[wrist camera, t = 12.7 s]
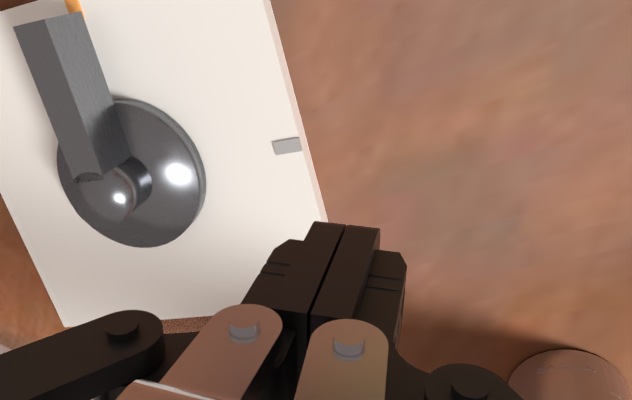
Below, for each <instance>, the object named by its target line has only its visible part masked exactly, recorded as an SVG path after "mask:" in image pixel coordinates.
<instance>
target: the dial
mask: <svg viewBox="0 0 632 400" xmlns="http://www.w3.org/2000/svg"><path fill="white" fill-rule="evenodd" d="M13 29H14V32H15V34H16V37H17V39H18V42H19V44H20V47H21V49H22V52H23V54H24V57H25V59H26V62H27V64H28V67H29V69H30V72H31V74H32V77H33V79H34V82H35V84H36V87H37V89H38V92H39V94H40V97H41V100H42V102H43V105H44V107H45V110H46V112H47V115H48V117H49V120H50V122H51V125H52V127H53V130H54V132H55V135H56V137H57V140H58V148H57V170H58V175H59V179H60V182H61V185H62V188H63V190H64V192H65V194H66V196H67V198H68V200H69V202H70V203H71V205H72V206H73V208H74V209H75V211H76V212H77V214H78V215H79V216H80V217H81V218H82V219H83V220H84V221H85V222H86V223H88V224H89V225H90V226H91V227H92V228H93V229H95V230H96V231H97V232H99V233H100V234H102V235H104V236H105V237H107V238H109V239H111V240H113V241H115V242H118V243H121V244H123V245H127V246H132V247H139V248H151V247H158V246H161V245H165V244H167V243H169V242H171V241H173V240H175V239H176V238H178V237H179V236H181V235H182V234H183V233H184V232H185V231H186V230H187V228H188V227H189V226H190V225H191V224H192V223H193V222H194V221H195V219H196V218H197V217H198V215H199V213H200V211H201V209H202V207H203V204H204V201H205V196H206V174H205V169H204V165H203V162H202V159H201V156H200V154H199V152H198V150H197V148H196V146H195V144H194V142H193V141H192V139H191V138H190V136H189V135H188V134H187V133H186V131H185V130H184V129H183V128H182V127H181V126H180V125H179V124H178V123H177V122H176V121H175V120H174V119H173V118H171V117H170V116H169V115H167V114H166V113H164V112H163V111H161V110H160V109H158V108H156V107H154V106H152V105H149V104H147V103H144V102H141V101H137V100H132V99H112V97H111V94H110V91H109V88H108V86H107V83H106V80H105V77H104V74H103V71H102V68H101V66H100V63H99V60H98V57H97V54H96V51H95V49H94V46H93V43H92V40H91V37H90V34H89V32H88V29H87V26H86V23H85V20H84V17H83V15H82V12H81V11H79V12H75V13H70V14H65V15H61V16H56V17H51V18H47V19H42V20H38V21H34V22H30V23H26V24H22V25H18V26H14V27H13Z"/></svg>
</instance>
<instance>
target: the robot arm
mask: <svg viewBox="0 0 632 400" xmlns="http://www.w3.org/2000/svg"><path fill="white" fill-rule="evenodd" d="M379 247H380V229H379V228H371V227H363V226H354V225H347V226H346V225H345V224H337V223H328V222H320V221H314V222H313V224H312V226H311V228H310V230H309V231H308V233H307V235H306V237H305V239H304V241H303V240H295V239H288V240H287V241H285V242H284V243H282V244H281V245H279V246H278V247H276V248H274V250H273V251H272V253H271V255H270V256H269V258H268V259H267V261H266V264H264V266H263V268H262V269H261V271H260V274H258V276H257V277H256V279H255V281H254V282H253V284H252V286H251V287H250V289H249V290H248V292H247V294H246V295H245V297H244V299H243V300H242V302H241V303H240V304H239V305H234V306H230V307H227V308H225V309H222V310H221V311H219V312H217V313H216V314H215V315H213V316H212V317H211V318H210V320H209V321H208V322H207V323H206V325H205V326H204V327H203V328H202V330H201V331H199V332H189V333H173V334H164V333H163V325H162V322H161V320H160V319H159V318H158V317H157V316H156V315H154V314H152V313H150V312H147V311H142V310H124V311H118V312H114V313H111V314H108V315H105V316H103V317H100V318H97V319H95V320H92V321H89V322H87V323H84V324H81V325H78V326H76V327H73V328H70V329H68V330H65V331H62V332H60V333H57V334H54V335H52V336H49V337H46V338H44V339H41V340H38V341H36V342H33V343H30V344H27V345H25V346H22V347H19V348H17V349H14V350H11V351H9V352H7V353H3V354H1V355H0V400H91V399H93V398H94V400H632V399H631V396H630V393H629V391H628V388H627V385H626V382H625V380H624V378H623V377H622V375H621V374H620V372H619V371H618V370H617V369H616V368H615V367H614V366H612V365H611V364H610V363H609V362H607V361H605V360H604V359H602V358H600V357H598V356H595V355H593V354H590V353H587V352H582V351H577V350H553V351H547V352H543V353H540V354H537V355H535V356H533V357H531V358H529V359H527V360H525V361H524V362H523V363H522V364H520V365H519V366H518V367H517V368H516V369H515V371H514V372H513V373H512V375H511V377H510V379H509V381H508V384H507V383H506V382H505V381H503V380H502V379H501V378H500V377H499V376H497V375H496V374H494V373H492V372H490V371H488V370H486V369H484V368H481V367H478V366H474V365H469V364H449V365H445V366H442V367H440V368H437V369H436V370H434V371H433V372H432V373H431V374H428V373H426V372H423V371H421V370H419V369H417V368H415V367H413V366H412V365H410V364H409V363H407V362H406V361H405V360H404V359H403V358H402V357H401V356H400V355H399V354H398V352H397V348H398V342H399V336H400V331H401V325H402V316H403V305H404V294H405V282H406V271H407V265H406V263H405V261H404V260H403V258H402V256H401V254H400V253H398V252H390V251H382V250H379Z"/></svg>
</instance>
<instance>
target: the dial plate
mask: <svg viewBox="0 0 632 400" xmlns="http://www.w3.org/2000/svg"><path fill="white" fill-rule="evenodd" d="M79 11H81V12H82V15H83V17H84V20H85V23H86V26H87V29H88V32H89V34H90V37H91V40H92V43H93V46H94V49H95V51H96V54H97V57H98V60H99V63H100V66H101V68H102V71H103V74H104V77H105V80H106V83H107V86H108V88H109V91H110V94H111V97H112V99H132V100H137V101H141V102H144V103H147V104H149V105H152V106H154V107H156V108H158V109H160V110H161V111H163V112H164V113H166V114H167V115H169V116H170V117H171V118H173V119H174V120H175V121H176V122H177V123H178V124H179V125H180V126H181V127H182V128H183V129H184V130H185V131H186V133H187V134H188V135H189V136H190V138H191V139H192V141H193V142H194V144H195V146H196V148H197V150H198V152H199V154H200V156H201V159H202V162H203V165H204V169H205V174H206V196H205V201H204V204H203V207H202V209H201V211H200V213H199V215H198V217H197V218H196V219H195V221H194V222H193V223H192V224H191V225H190V226H189V227H188V228H187V230H186V231H185V232H184V233H183V234H182V235H181V236H179V237H178V238H176V239H175V240H173V241H171V242H169V243H167V244H165V245H161V246H158V247H151V248H139V247H132V246H127V245H123V244H121V243H118V242H115V241H113V240H111V239H109V238H107V237H105V236H104V235H102V234H100V233H99V232H97V231H96V230H95V229H93V228H92V227H91V226H90V225H89V224H88V223H86V222H85V221H84V220H83V219H82V218H81V217H80V216H79V215H78V214H77V212H76V211H75V209H74V208H73V206H72V205H71V203H70V202H69V200H68V198H67V196H66V194H65V192H64V190H63V188H62V185H61V182H60V179H59V175H58V170H57V148H58V140H57V137H56V135H55V132H54V130H53V127H52V125H51V122H50V120H49V117H48V115H47V112H46V110H45V107H44V105H43V102H42V100H41V97H40V94H39V92H38V89H37V87H36V84H35V82H34V79H33V77H32V74H31V72H30V69H29V67H28V64H27V62H26V59H25V57H24V54H23V52H22V49H21V47H20V44H19V42H18V39H17V37H16V34H15V32H14V29H13V27H14V26H18V25H22V24H26V23H30V22H34V21H38V20H42V19H47V18H51V17H56V16H61V15H65V14H70V13H75V12H79ZM0 193H1V195H2V197H3V200H4V202H5V204H6V206H7V208H8V210H9V212H10V214H11V216H12V218H13V221H14V223H15V225H16V227H17V229H18V231H19V233H20V235H21V237H22V239H23V241H24V244H25V246H26V248H27V250H28V252H29V254H30V256H31V258H32V260H33V262H34V265H35V267H36V269H37V271H38V273H39V275H40V277H41V279H42V281H43V283H44V286H45V288H46V290H47V292H48V294H49V296H50V298H51V300H52V302H53V304H54V306H55V309H56V311H57V313H58V315H59V317H60V319H61V321H62V323H63V325H64V327H73V326H78V325H81V324H84V323H87V322H89V321H92V320H95V319H97V318H100V317H103V316H105V315H108V314H111V313H114V312H118V311H124V310H142V311H147V312H150V313H152V314H154V315H156V316H157V317H158V318H159V319H160V320H164V319H177V318H189V317H202V316H213V315H215V314H216V313H217V312H219V311H221V310H222V309H225V308H227V307H230V306H234V305H239V304H240V303H241V302H242V300H243V299H244V297H245V295H246V294H247V292H248V290H249V289H250V287H251V286H252V284H253V282H254V281H255V279H256V277H257V276H258V274H260V271H261V269H262V268H263V266H264V264H266V261H267V259H268V258H269V256H270V255H271V253H272V251H273V250H274V248H276V247H278V246H279V245H281V244H282V243H284V242H285V241H287V240H288V239H295V240H303V241H304V239H305V237H306V235H307V233H308V231H309V230H310V228H311V226H312V224H313V222H314V221H320V222H328V219H327V215H326V211H325V208H324V204H323V200H322V196H321V192H320V189H319V185H318V181H317V177H316V173H315V170H314V166H313V162H312V158H311V154H310V151H309V147H308V143H307V139H306V135H305V132H304V128H303V124H302V120H301V116H300V113H299V109H298V105H297V101H296V97H295V94H294V90H293V86H292V82H291V78H290V74H289V71H288V67H287V63H286V59H285V55H284V52H283V48H282V44H281V40H280V36H279V33H278V29H277V25H276V21H275V17H274V14H273V10H272V6H271V2H270V0H37V1H34V2H30V3H27V4H24V5H20V6H17V7H14V8H10V9H7V10H3V11H0Z"/></svg>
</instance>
